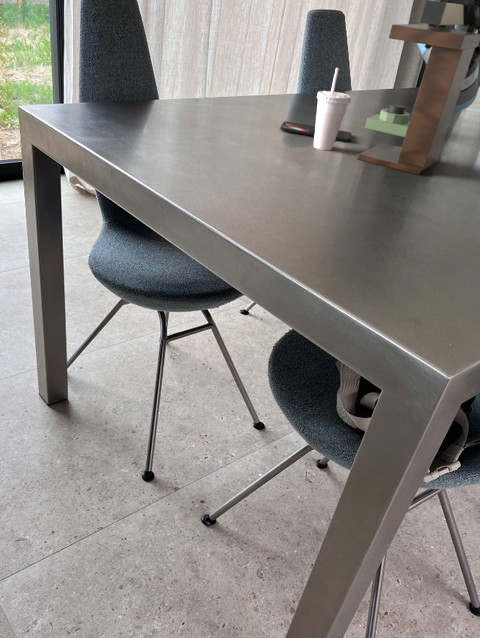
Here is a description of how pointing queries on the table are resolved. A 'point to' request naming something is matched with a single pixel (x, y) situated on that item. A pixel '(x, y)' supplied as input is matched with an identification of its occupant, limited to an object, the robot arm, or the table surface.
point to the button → (396, 109)
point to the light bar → (442, 13)
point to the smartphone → (311, 130)
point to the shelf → (429, 97)
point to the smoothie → (329, 116)
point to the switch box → (389, 122)
